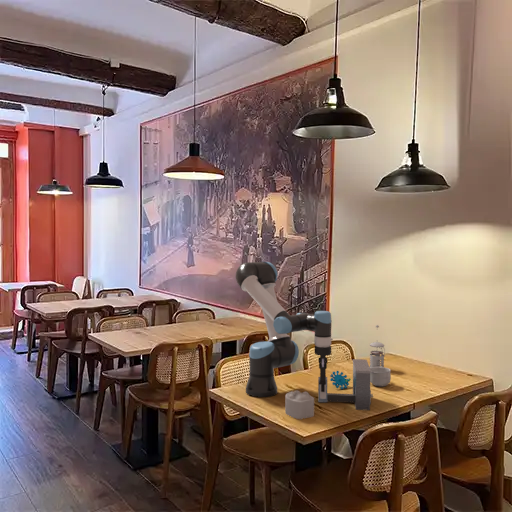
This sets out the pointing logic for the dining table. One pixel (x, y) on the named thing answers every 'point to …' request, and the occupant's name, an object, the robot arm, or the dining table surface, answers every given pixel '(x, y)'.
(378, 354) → the french press
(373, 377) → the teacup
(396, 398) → the dining table surface
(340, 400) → the blue-grey u-shaped block
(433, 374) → the dining table surface
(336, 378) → the blue spiked virus model
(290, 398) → the lumpy-topped squat cylinder
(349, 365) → the dining table surface
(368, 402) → the block
